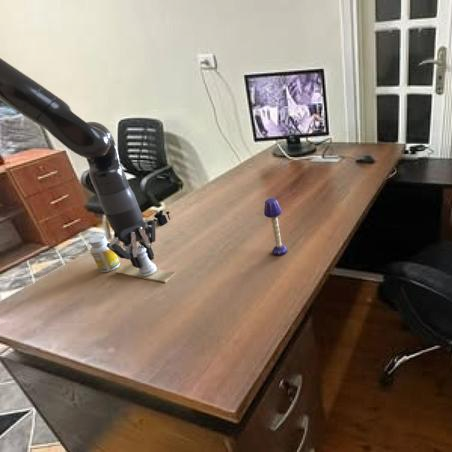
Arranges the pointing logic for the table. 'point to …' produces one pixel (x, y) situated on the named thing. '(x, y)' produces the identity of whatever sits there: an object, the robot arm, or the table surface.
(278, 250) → the toy lamp
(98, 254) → the supplement bottle
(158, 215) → the wireless earbuds
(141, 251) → the rook chess piece
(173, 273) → the strip
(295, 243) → the table surface
